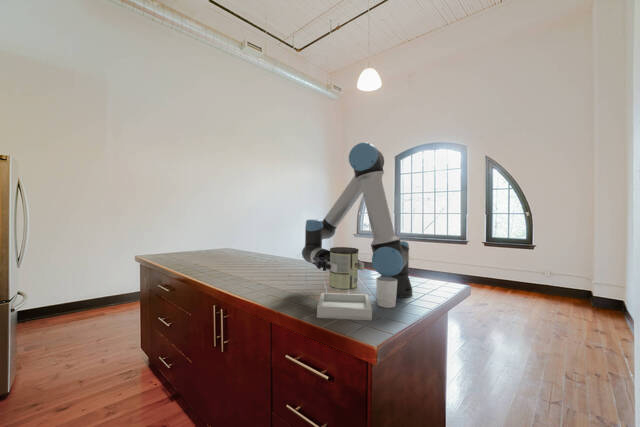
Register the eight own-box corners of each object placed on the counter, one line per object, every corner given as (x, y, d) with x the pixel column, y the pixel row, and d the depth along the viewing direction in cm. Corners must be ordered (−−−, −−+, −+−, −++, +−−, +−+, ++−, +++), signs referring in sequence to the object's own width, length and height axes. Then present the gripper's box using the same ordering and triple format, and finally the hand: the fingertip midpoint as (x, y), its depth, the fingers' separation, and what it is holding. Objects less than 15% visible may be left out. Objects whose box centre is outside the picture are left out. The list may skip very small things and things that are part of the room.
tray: (367, 303, 112) (367, 294, 112) (371, 320, 94) (372, 309, 94) (321, 301, 113) (321, 292, 113) (316, 317, 95) (317, 307, 95)
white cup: (397, 303, 112) (398, 277, 113) (396, 309, 105) (396, 282, 105) (377, 301, 115) (377, 276, 115) (374, 307, 108) (374, 280, 108)
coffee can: (329, 283, 109) (330, 246, 109) (357, 285, 108) (358, 247, 108) (327, 290, 99) (328, 249, 99) (358, 292, 98) (359, 251, 98)
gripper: (345, 265, 125) (376, 276, 105) (296, 268, 115) (320, 281, 95) (346, 248, 125) (377, 255, 105) (297, 249, 115) (320, 258, 95)
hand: (349, 267), depth 100 cm, fingers closed on coffee can, 10 cm apart
